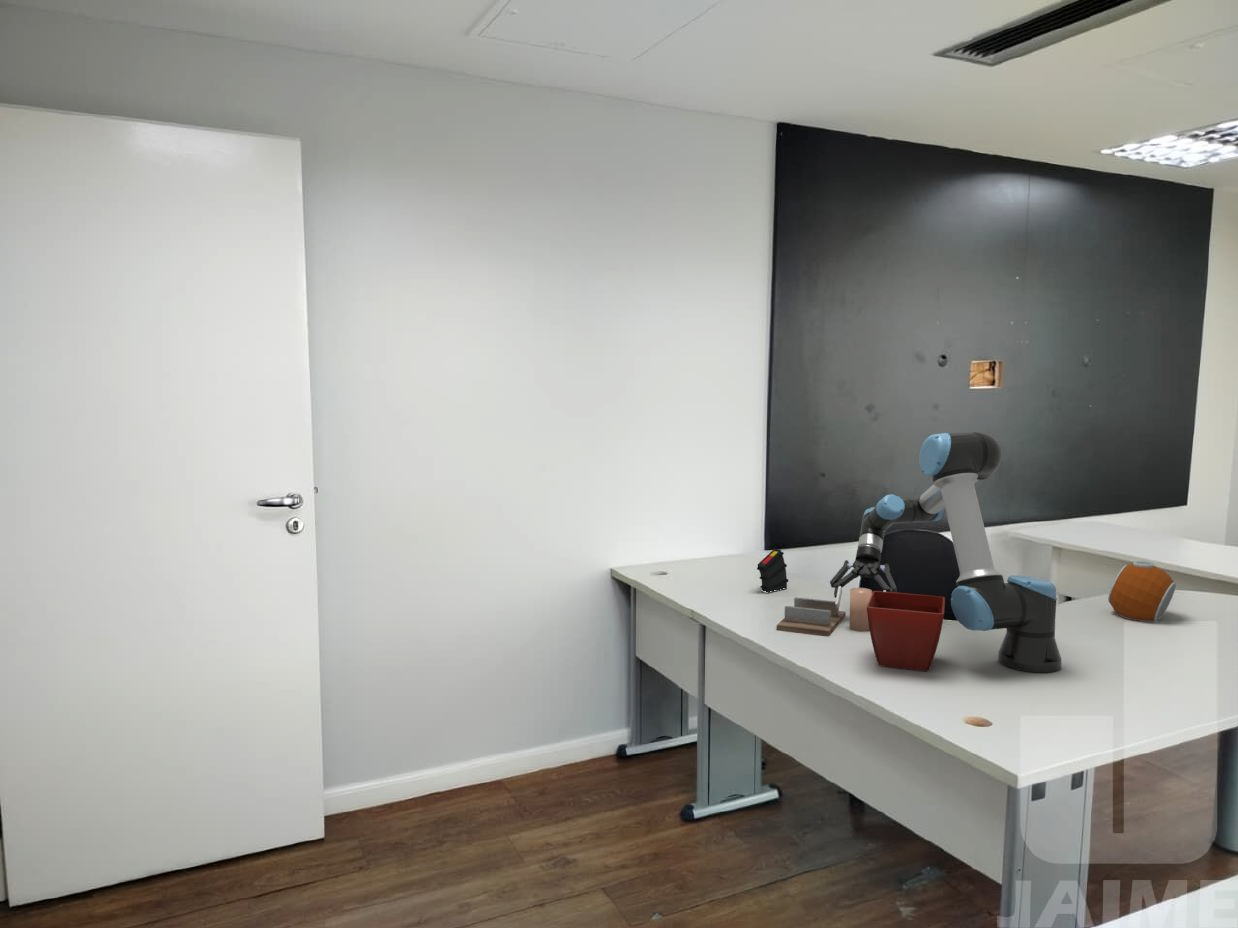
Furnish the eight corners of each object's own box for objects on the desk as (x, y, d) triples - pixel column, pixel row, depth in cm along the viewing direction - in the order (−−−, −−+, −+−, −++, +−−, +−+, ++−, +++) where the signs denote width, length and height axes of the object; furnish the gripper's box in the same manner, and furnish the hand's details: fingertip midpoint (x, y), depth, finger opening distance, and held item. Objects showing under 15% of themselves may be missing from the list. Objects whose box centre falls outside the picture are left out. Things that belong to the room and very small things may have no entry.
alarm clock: (1118, 605, 282) (1120, 554, 281) (1180, 615, 270) (1182, 561, 268) (1100, 617, 269) (1102, 563, 267) (1164, 627, 257) (1167, 571, 255)
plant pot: (944, 655, 234) (945, 595, 233) (942, 677, 217) (943, 613, 215) (872, 648, 242) (873, 590, 240) (865, 669, 224) (865, 606, 222)
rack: (828, 636, 253) (829, 616, 253) (776, 629, 260) (776, 610, 260) (845, 616, 275) (845, 597, 274) (796, 610, 282) (796, 593, 281)
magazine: (793, 583, 313) (782, 549, 308) (772, 603, 306) (760, 569, 301) (785, 581, 316) (774, 547, 311) (764, 601, 309) (752, 568, 304)
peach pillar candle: (869, 632, 256) (869, 593, 255) (847, 629, 259) (848, 591, 258) (873, 626, 262) (873, 588, 261) (852, 624, 265) (852, 586, 264)
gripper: (910, 561, 269) (903, 619, 257) (831, 554, 280) (820, 610, 268) (908, 547, 264) (900, 606, 252) (828, 541, 275) (816, 598, 263)
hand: (859, 608), depth 260 cm, fingers open, 13 cm apart
